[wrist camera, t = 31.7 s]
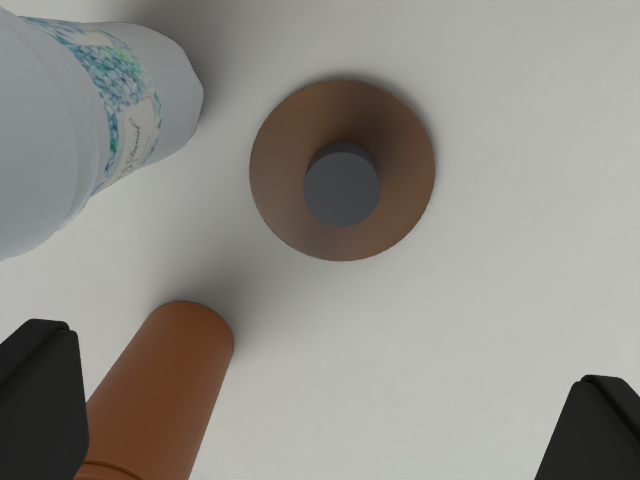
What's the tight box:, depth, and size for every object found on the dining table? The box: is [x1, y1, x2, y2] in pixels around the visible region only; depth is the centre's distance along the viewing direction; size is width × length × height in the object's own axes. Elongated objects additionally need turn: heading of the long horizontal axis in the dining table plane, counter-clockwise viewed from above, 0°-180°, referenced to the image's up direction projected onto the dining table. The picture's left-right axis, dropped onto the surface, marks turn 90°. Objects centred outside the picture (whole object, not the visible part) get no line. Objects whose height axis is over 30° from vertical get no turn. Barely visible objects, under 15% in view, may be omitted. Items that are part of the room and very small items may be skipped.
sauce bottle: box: [73, 302, 234, 480], centre depth 22 cm, size 6×6×18 cm
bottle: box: [0, 7, 204, 261], centre depth 15 cm, size 7×7×20 cm
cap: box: [303, 142, 380, 227], centre depth 23 cm, size 4×4×3 cm
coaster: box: [249, 79, 435, 261], centre depth 25 cm, size 10×10×1 cm
